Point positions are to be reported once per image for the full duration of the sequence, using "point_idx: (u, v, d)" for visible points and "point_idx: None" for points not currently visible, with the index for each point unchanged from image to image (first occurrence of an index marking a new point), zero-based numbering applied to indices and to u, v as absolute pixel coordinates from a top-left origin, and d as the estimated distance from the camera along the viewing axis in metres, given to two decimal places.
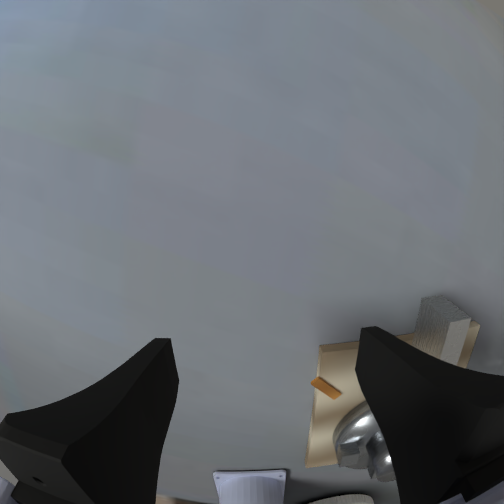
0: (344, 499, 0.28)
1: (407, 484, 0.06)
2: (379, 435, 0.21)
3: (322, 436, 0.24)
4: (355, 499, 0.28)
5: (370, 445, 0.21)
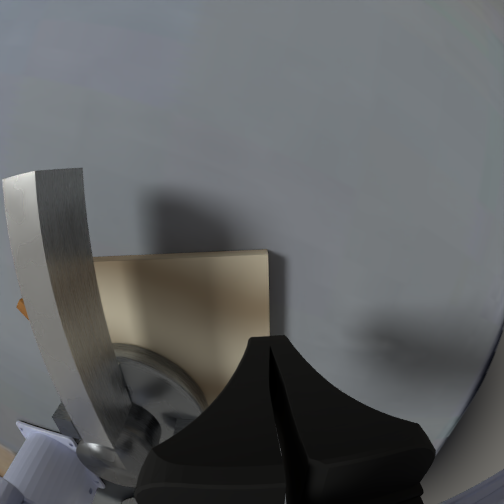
0: None
1: None
2: None
3: None
4: None
5: None
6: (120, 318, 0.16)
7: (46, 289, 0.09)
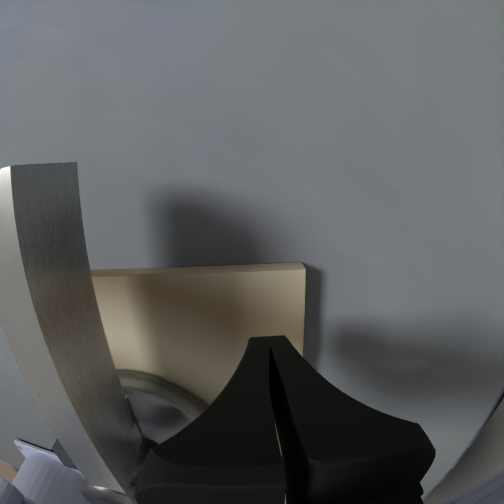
0: None
1: None
2: None
3: None
4: None
5: None
6: (126, 342, 0.13)
7: (31, 324, 0.07)
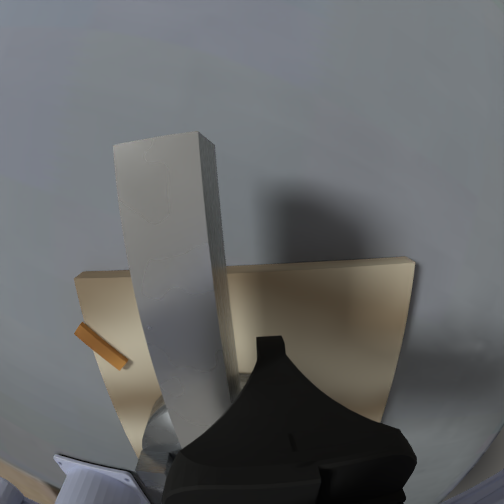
0: None
1: None
2: None
3: (140, 432, 0.15)
4: None
5: None
6: (236, 343, 0.14)
7: (206, 330, 0.07)
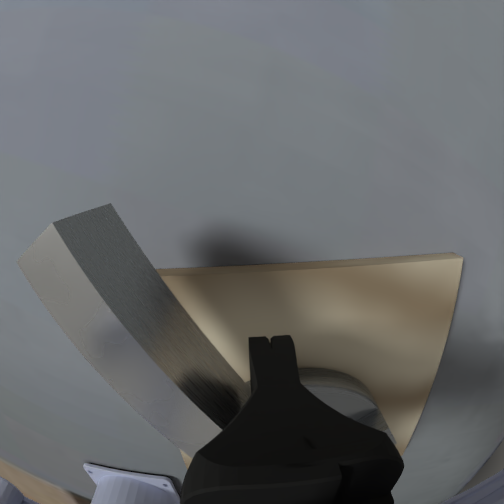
0: None
1: None
2: None
3: None
4: None
5: None
6: (308, 338, 0.14)
7: (146, 367, 0.07)
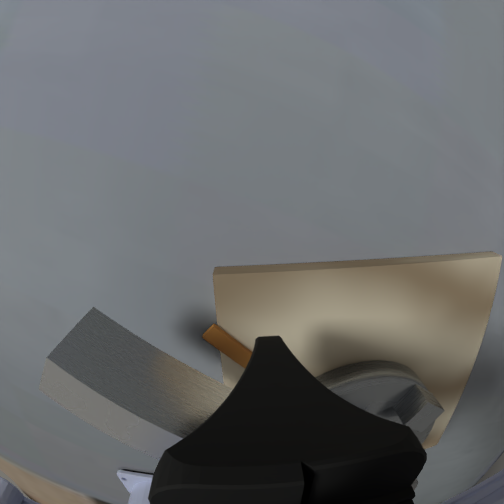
0: None
1: None
2: None
3: None
4: None
5: None
6: (375, 332, 0.14)
7: (165, 436, 0.08)
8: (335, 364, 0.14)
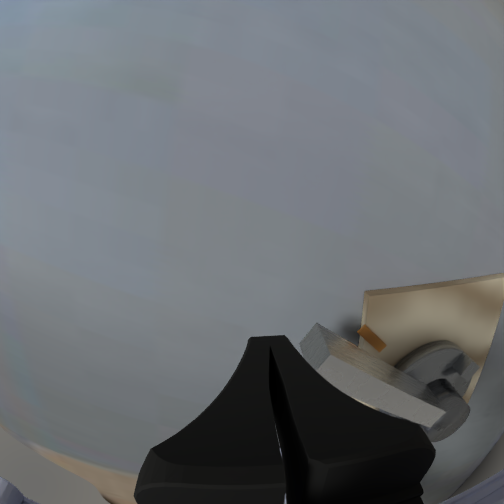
0: None
1: None
2: None
3: None
4: None
5: None
6: (441, 323, 0.22)
7: (377, 384, 0.16)
8: (420, 344, 0.22)
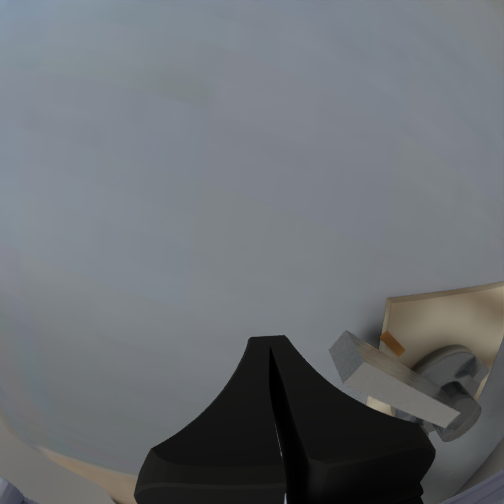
0: None
1: None
2: None
3: None
4: None
5: None
6: (455, 328, 0.22)
7: (403, 388, 0.16)
8: (435, 348, 0.22)
